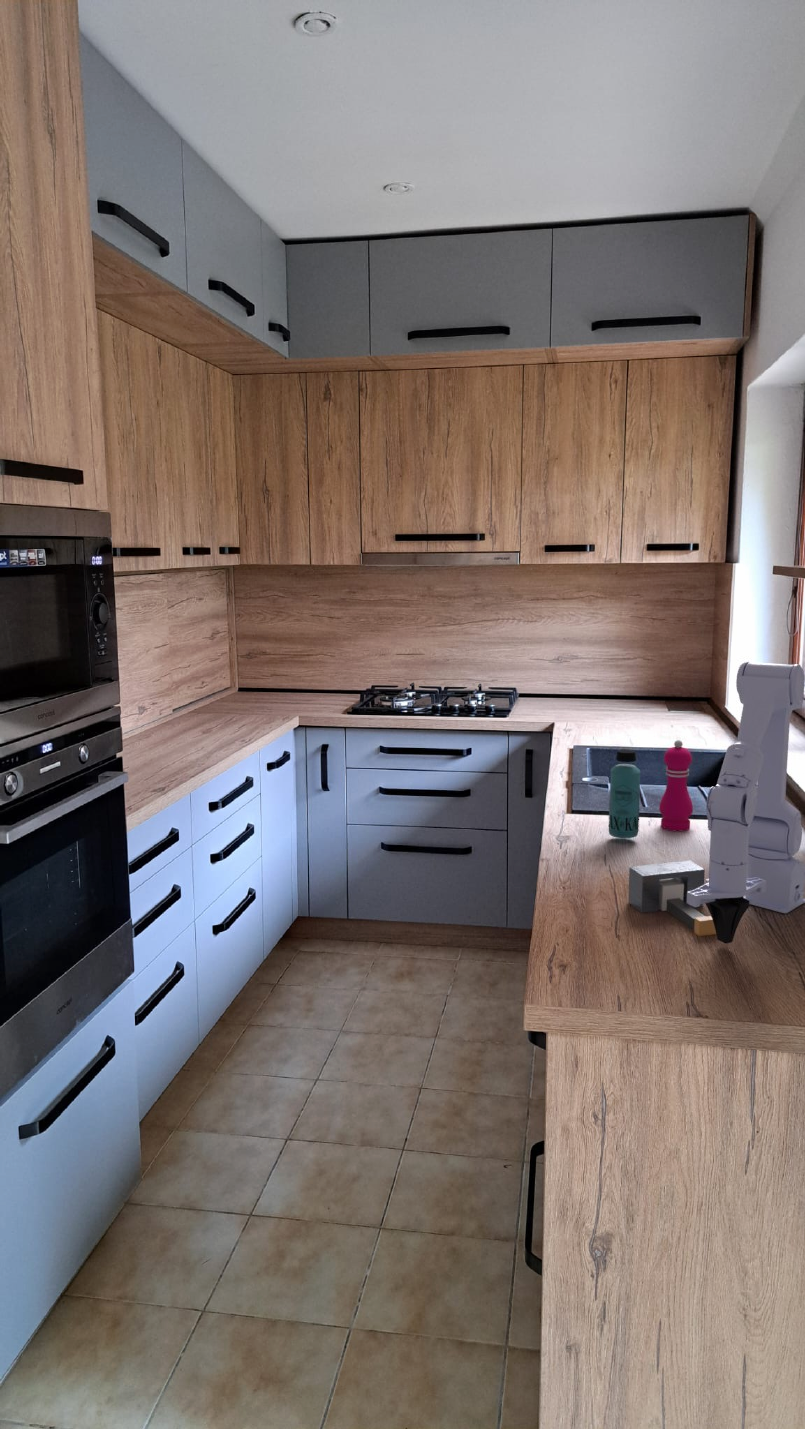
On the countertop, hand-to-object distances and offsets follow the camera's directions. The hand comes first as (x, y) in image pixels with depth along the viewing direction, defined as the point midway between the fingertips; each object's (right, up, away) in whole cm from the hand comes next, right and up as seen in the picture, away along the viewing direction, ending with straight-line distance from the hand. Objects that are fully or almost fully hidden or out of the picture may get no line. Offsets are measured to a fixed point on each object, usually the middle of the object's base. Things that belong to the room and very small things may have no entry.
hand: (724, 940), depth 157 cm
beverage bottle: (-4, +9, +54) cm, 55 cm away
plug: (-3, +1, +12) cm, 13 cm away
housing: (-5, +2, +18) cm, 19 cm away
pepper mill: (+10, +11, +63) cm, 65 cm away
